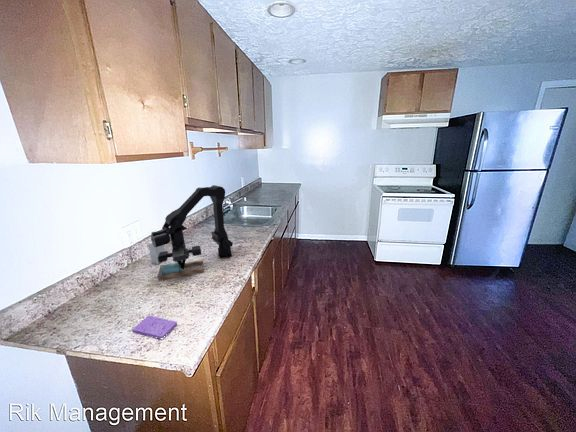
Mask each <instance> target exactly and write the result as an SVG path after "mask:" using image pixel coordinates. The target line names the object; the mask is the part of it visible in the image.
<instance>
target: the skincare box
mask: <svg viewBox="0 0 576 432" xmlns="http://www.w3.org/2000/svg"><path fill="white" fill-rule="evenodd" d="M148 249H149V255H150V259H151V260H150V261H151V264H152V265H153V264H154V265H160V264H161V263H162V262H158V255H159V253H160V252H165V251H166V249H165V245H162V246H159V247H154V246H153V244H152V241H151V240H150V242H148Z"/></svg>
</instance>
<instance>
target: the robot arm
mask: <svg viewBox="0 0 576 432" xmlns="http://www.w3.org/2000/svg"><path fill="white" fill-rule="evenodd" d="M204 197H209V198H210V200H211V201H212V204H213V207H212V208H213V216H214V230H213V231H211V240H213V242H214V243H216V245H217V246H218V247H217V253H218V257H219V259H225V258H230V257H231V258H232V257H233V255H232V247H233V244H234V242H233V241H231V240H230V239H229V236H228V235H229V234H228V233H227V230H226V229H225V220H224V219H225V217H224V215H225V214H224V205H223V204H224V200H225V199H226V189H225V188H224V187H223V186H220V185H216V184H215V185H211V186H205V187H204V186H203V187H197V188H196V189H195V191H193V193H192V194H191V195H189V197H188V198H187V199H186V200H185V201H184V202H183V203H182V205H180V206H179V207H178V208H176V209H175V210H172V211H171V212H170V213H169V214H167V215H166V217H165V218H164V219H165V220H164V221H165V222H164V224H163V226H162V227H161V230H158V231H151V235H150V242H151V241H152V244H153V246H154V247H159V246H162V245H164V246H165V245H168V244H169V243H171V248H172V249H171V252H169V251H168V250H165V252H160V253H159V255H158V262H161V263H164V262H167V261H168V258H172V261H173V262H174V263H179V265H180V266H181V270H185V268H184V266H185V263H186V261H187V259H189V258H190V254H191V255H192V256H193V257H197V256H202V249H201V246H200V245H196V246H195V245H194V246H192V247H191V248H190V249H189V248H186V241H185V236H184V231H185V230H188V227H186V226H185V225H183V224H184V223H185V221H186V220H187V216H188V214H189V213H190V212H191V211H192V210H193V209H194V208H195V207H196V206H197V205H198V203H199V202H200V201H201V200H202V199H203V198H204Z"/></svg>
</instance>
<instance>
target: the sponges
mask: <svg viewBox="0 0 576 432" xmlns="http://www.w3.org/2000/svg"><path fill="white" fill-rule="evenodd" d="M177 326H178V322H177V321H176V320H170V319H166V318H162V317H159V316H158V317H157V316H153V315H150V314H149V315H147V316H146V317H145V318H143V320H141V322H139V323H138V324H136V326H134V328H132V329H131V330H132V333H135V334H138V333H140V334H139V335H143V334H144V335H143V336H146V335H149V336H148V337H150V336H153V337H152V338H154V337H158V338H163V337H164V336H166V334H168V333H169V332H170V331H171V330H172V329H173V328H174V329H175V328H176V327H177ZM174 329H173V330H174ZM173 330H172V331H173ZM172 331H171V332H172ZM171 332H170V333H171ZM170 333H169V334H170ZM169 334H168V335H169ZM166 337H167V336H166Z"/></svg>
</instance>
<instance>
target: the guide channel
mask: <svg viewBox="0 0 576 432" xmlns="http://www.w3.org/2000/svg"><path fill="white" fill-rule="evenodd" d="M164 265H165V264H161V265H160V266H159V270H158V273H157V280H158V282H161V281H165V280H170V279H175V278H176V279H177V278H182V277H186V276H191V275H197V274H201V273H205V268H204V267H200V268H193V269H188V270H182V268H181V266H180V269H181V271H180V272H176V273H170V274H165V275H163V272H162V269H163V266H164ZM203 265H204V260H203V259H202V260H196V261H195V260H194V261H189V262H185V266H184V269H185V268H191V267H196V266H197V267H198V266H203Z"/></svg>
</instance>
